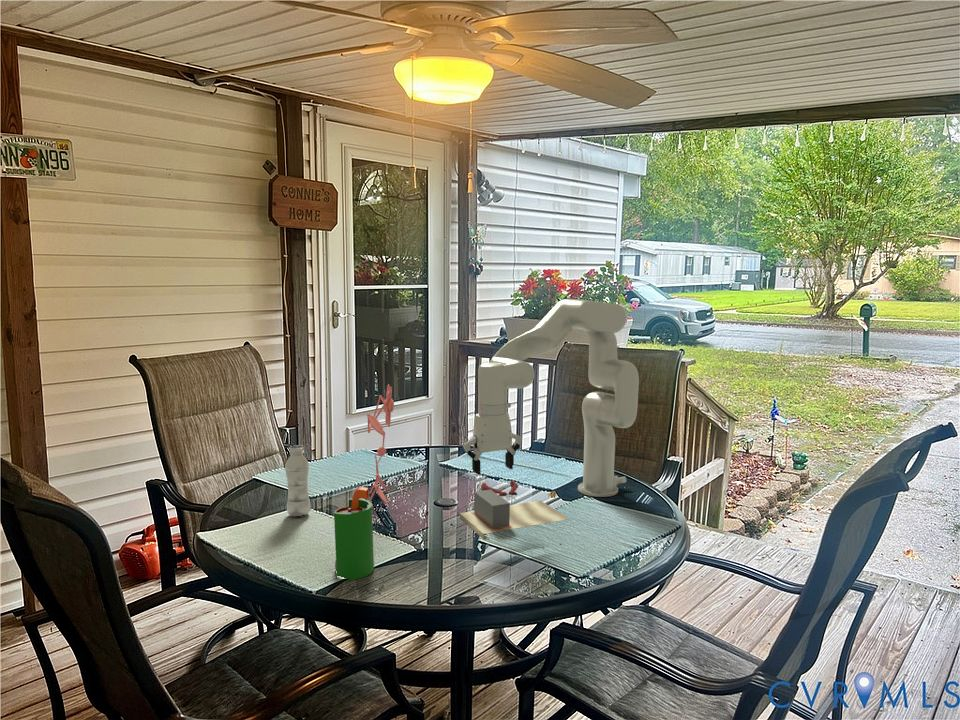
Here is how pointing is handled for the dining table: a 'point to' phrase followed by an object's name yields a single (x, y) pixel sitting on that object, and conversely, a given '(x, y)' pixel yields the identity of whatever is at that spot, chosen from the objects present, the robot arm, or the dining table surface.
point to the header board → (515, 517)
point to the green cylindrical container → (354, 537)
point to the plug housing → (492, 508)
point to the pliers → (511, 492)
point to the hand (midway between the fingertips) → (493, 470)
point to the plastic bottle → (297, 482)
